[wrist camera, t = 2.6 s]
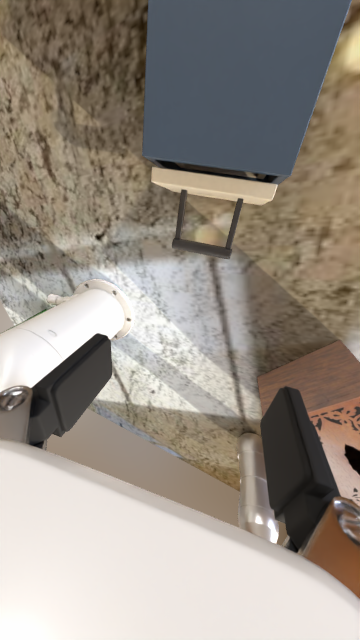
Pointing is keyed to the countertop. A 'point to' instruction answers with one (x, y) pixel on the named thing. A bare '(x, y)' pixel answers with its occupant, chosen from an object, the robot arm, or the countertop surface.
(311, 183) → the countertop surface
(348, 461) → the tissue box cover
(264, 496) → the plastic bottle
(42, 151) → the countertop surface
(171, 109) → the blue cabinet body
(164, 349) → the countertop surface
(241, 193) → the cabinet drawer
